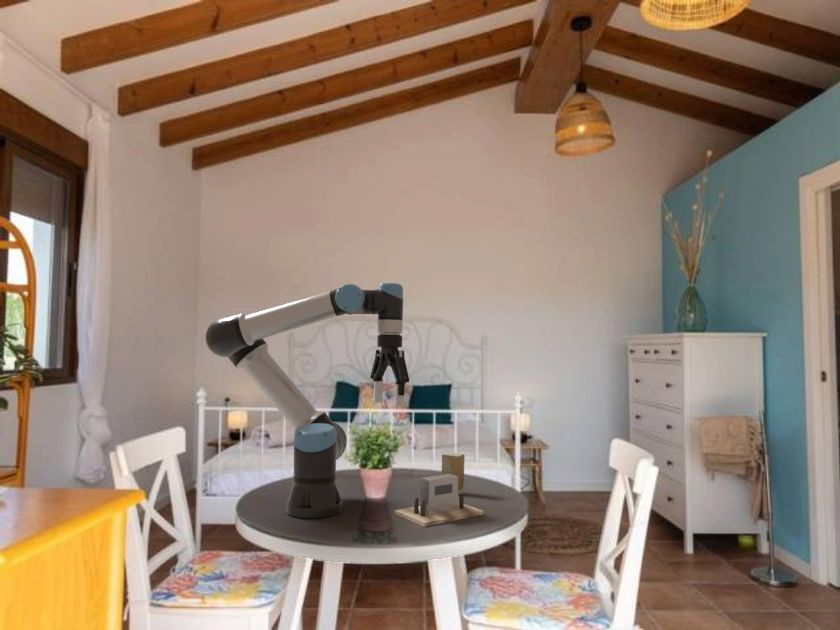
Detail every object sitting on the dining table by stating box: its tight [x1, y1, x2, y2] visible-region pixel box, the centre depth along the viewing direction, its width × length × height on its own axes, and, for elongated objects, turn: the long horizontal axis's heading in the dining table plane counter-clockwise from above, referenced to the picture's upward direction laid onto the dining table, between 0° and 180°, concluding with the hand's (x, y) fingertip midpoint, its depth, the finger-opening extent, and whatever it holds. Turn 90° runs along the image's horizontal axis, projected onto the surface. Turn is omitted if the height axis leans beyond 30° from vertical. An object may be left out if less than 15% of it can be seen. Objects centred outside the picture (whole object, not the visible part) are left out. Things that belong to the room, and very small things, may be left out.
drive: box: [419, 474, 459, 515], centre depth 163 cm, size 10×4×9 cm, turn 125°
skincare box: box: [440, 452, 466, 496], centre depth 187 cm, size 6×4×12 cm
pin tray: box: [394, 493, 485, 528], centre depth 163 cm, size 20×14×5 cm
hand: (388, 404), depth 179 cm, fingers open, 13 cm apart
